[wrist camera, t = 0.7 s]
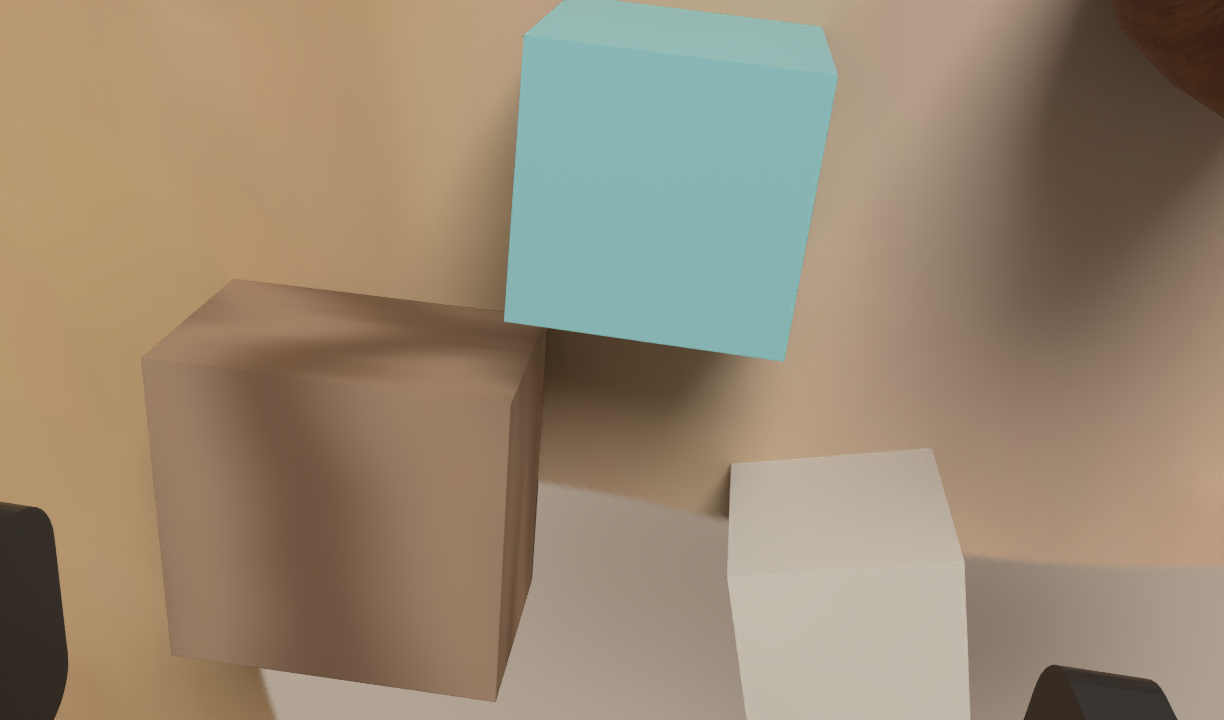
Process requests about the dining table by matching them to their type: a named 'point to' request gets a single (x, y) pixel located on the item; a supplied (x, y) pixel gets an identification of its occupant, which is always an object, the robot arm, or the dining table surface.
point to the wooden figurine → (1180, 42)
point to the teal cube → (666, 174)
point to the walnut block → (347, 484)
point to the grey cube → (847, 589)
